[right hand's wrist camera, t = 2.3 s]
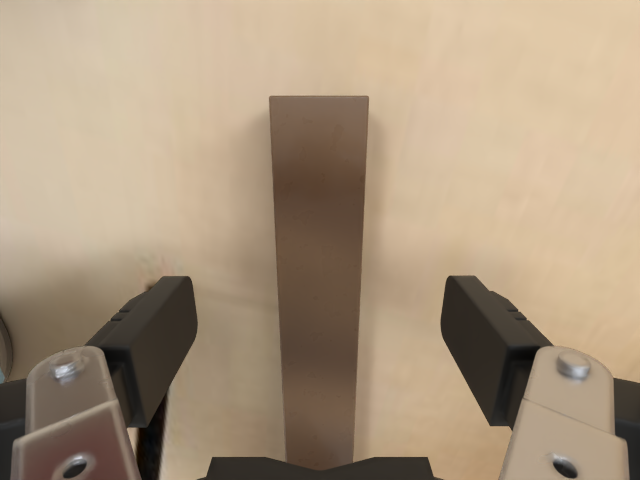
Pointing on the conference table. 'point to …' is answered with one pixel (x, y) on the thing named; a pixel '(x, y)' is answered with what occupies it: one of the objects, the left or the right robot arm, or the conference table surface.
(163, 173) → the conference table surface
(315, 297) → the post
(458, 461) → the conference table surface
